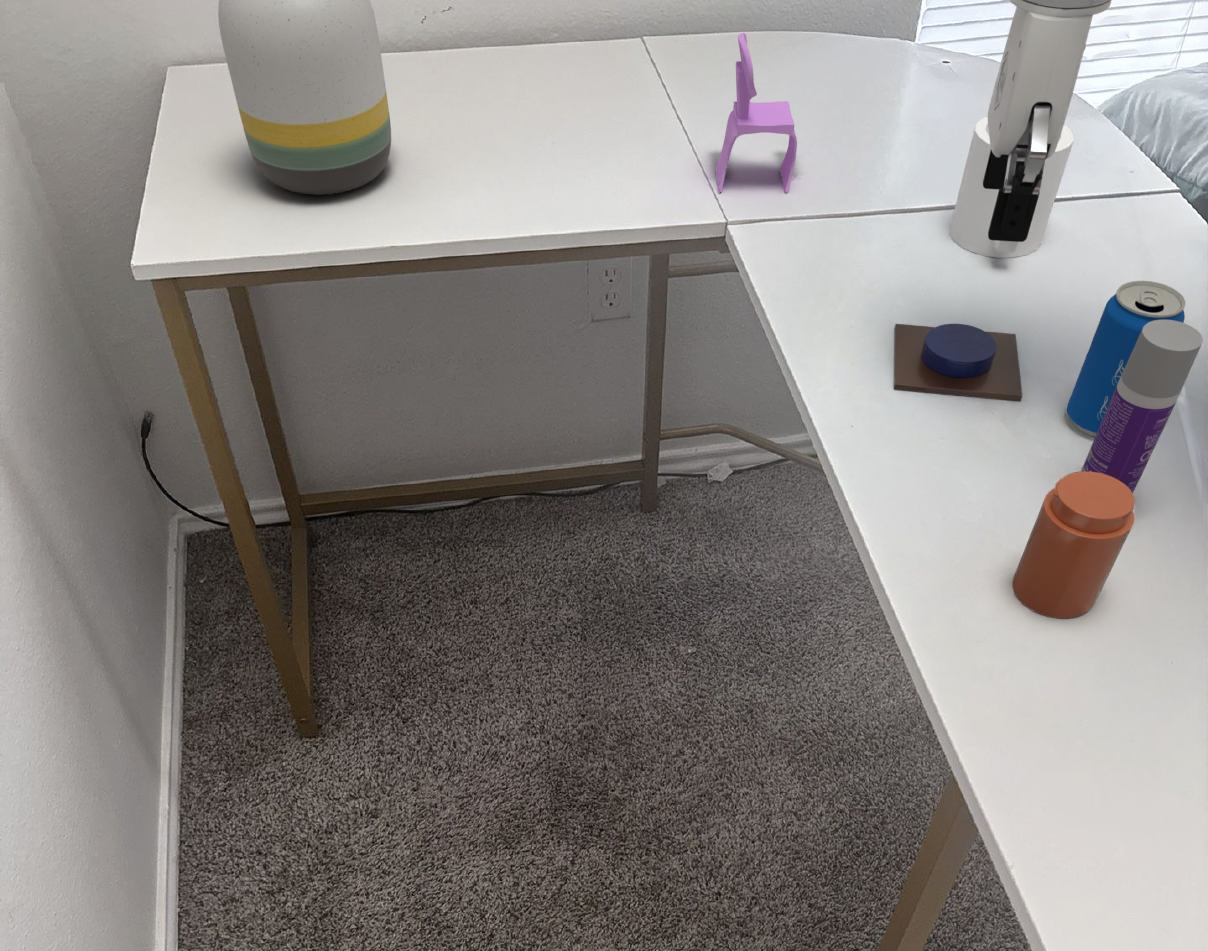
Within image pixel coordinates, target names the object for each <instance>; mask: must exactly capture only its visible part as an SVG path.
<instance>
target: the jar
mask: <svg viewBox="0 0 1208 951" xmlns="http://www.w3.org/2000/svg"><path fill="white" fill-rule="evenodd" d="M1135 503H1136V498H1135V495H1134V492H1133V493H1132V492H1131V490H1130V489H1129V488H1128V487H1127V486H1126V485H1125V484H1124V483H1122V482H1121V481H1119V480H1118V479H1116V478H1114V477H1111V476H1109V475H1106V474H1102V473H1098V472H1089V471H1082V472H1081V471H1076V472H1072V473H1069V474H1067V475H1065V476H1064V477H1062V478H1060V479H1059V480H1058V481H1057V482H1056V483H1055V485H1054V487H1053V488H1052V489H1050V490H1049V491H1048V492H1047V493H1046V495H1045V497H1044V498H1043V501H1042V504H1041V506H1040V509H1039V512H1038V513H1037V517H1036V519H1035V522H1034V525H1033V527H1032V529H1031V532H1030V534H1029V537H1028V540H1027V541H1026V542H1027V543H1026V544H1025V547H1024V550H1023V552H1022V555H1021V557H1020V559H1019V562H1018V565H1017V568H1016V570H1015V572H1014V575H1013V577H1012V581H1011V584H1012V590H1013V592H1014V594H1015V596H1016V598H1017V599H1018V600H1019V601H1020V603H1021V604H1023V605H1024V606H1025V607H1026V608H1027V609H1029V610H1032V611H1033V612H1035V613H1037V614H1040V615H1043V616H1045V617H1049V618H1056V619H1072V618H1077V617H1081V616H1083V615H1085V614H1087V613H1088V612H1090V611H1091V610H1092V609H1093V607H1095V604H1096V603H1097V600H1098V598H1099V596H1100V594H1101V592H1102V590H1103V588H1104V586H1105V583H1106V581H1107V579H1108V578H1109V575H1110V574H1111V571H1112V569H1113V568H1114V566H1115V563H1116V561H1117V559H1118V557H1119V555H1120V553H1121V551H1122V549H1123V546H1124V545H1125V543H1126V541H1127V539H1128V536H1129V534H1130V532H1131V530H1132V528H1133V526H1134V523H1135V519H1136V518H1135V511H1134V509H1135V505H1136V504H1135Z"/></svg>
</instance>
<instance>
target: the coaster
mask: <svg viewBox="0 0 1208 951" xmlns="http://www.w3.org/2000/svg"><path fill="white" fill-rule="evenodd" d="M934 327H935V326H926V325H915V324H904V323H895V325H894V329H893V334H894V335H893V339H894V340H893V344H894V345H893V390H895V391H906V392H916V393H926V394H939V395H949V396H960V397H971V398H980V399H981V398H982V399H991V400H992V399H993V400H1002V401H1003V400H1005V401H1015V402H1021V401H1022V400H1023V390H1022V380H1021V370H1020V361H1019V360H1020V359H1019V352H1018V344H1017V342H1018V341H1017V335H1016V333H1011V332H1009V333H1008V332H996V331H986V330H984V331H985V332H987V333H988V334H990V335H991V336H992V337H993V338H994V340H995V341H996V344H997V349H996V353H995V356H994V359H993V362H992V365H991V368H990V369H989V370H988V371H987V372H985V373H984V374H982V375H979V376H976V377H970V378H956V377H949V376H945V375H942V374H939V373H937V372H935V371H933V370H932V369H930V368H929V367H928V366H927V365H926V364H925V363H924V362H923V360H922V356H921V353H922V349H923V344H924V340H925V337H926V335H927V333H928V332H929V331H930V330H931V329H933V328H934Z"/></svg>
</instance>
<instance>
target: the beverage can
mask: <svg viewBox="0 0 1208 951" xmlns="http://www.w3.org/2000/svg"><path fill="white" fill-rule="evenodd" d="M1185 307H1186V299H1185V297H1184V296H1183V295H1182V294H1181V293H1180V292H1179V291H1178V290H1177V289H1175V288H1173V287H1172V286H1169V285H1166V284H1163V283H1161V282H1157V281H1151V280H1149V281H1148V280H1132V281H1128V282H1126V283H1123V284H1122V285H1120V286H1119V287H1118V288H1117V290H1116V293H1115V294H1114V295H1112V296H1111V297H1110V298H1109V299H1108V300H1107V301H1106V304H1105V306H1104V308H1103V311H1102V314H1101V317H1100V319H1099V321H1098V323H1097V324H1098V325H1097V326H1096V330H1095V332H1094V335H1093V337H1092V340H1091V342H1090V346H1089V348H1088V350H1087V353H1086V356H1085V358H1084V361H1083V364H1082V366H1081V369H1080V371H1079V374H1078V376H1077V379H1076V382H1075V384H1074V387H1073V390H1072V392H1071V394H1070V397H1069V400H1068V402H1067V406H1066V414H1067V417H1068V419H1069V420H1070V421H1071V422H1072V424H1073V425H1074V426H1075V427H1076V428H1077V429H1078V430H1079V431H1081V432H1082V433H1084V434H1086V435H1089V436H1092V437H1094V438H1095V437H1096V434H1097V432H1098V429H1099V427H1100V425H1101V422H1102V420H1103V417H1104V415H1105V413H1106V410H1107V408H1108V405H1109V403H1110V401H1111V398H1112V396H1113V393H1114V391H1115V389H1116V386H1117V384H1118V382H1119V380H1120V378H1121V375H1122V373H1123V371H1124V369H1125V367H1126V364H1127V362H1128V360H1129V358H1130V355H1131V353H1132V351H1133V349H1134V347H1135V344H1136V342H1137V340H1138V338H1139V335H1140V333H1141V331H1142V329H1143V327H1144V326H1145V325H1146V324H1147V323H1149V322H1151V321H1155V320H1174V321H1179V322H1182V323H1184V322H1185V318H1186V317H1185V311H1184V309H1185Z"/></svg>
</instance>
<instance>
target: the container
mask: <svg viewBox="0 0 1208 951" xmlns="http://www.w3.org/2000/svg"><path fill="white" fill-rule="evenodd" d="M1203 342H1204V339H1203V336H1202V334H1201V333H1200V331H1199V330H1198V329H1196V328H1195V327H1193V326H1191V325H1189V324H1187V323H1184V322H1183V323H1182V322H1179V321H1174V320H1155V321H1151V322H1149V323H1147V324H1146V325H1145V326H1144V327H1143V329H1142V331H1141V333H1140V335H1139V338H1138V340H1137V342H1136V344H1135V347H1134V349H1133V351H1132V353H1131V355H1130V358H1129V360H1128V362H1127V364H1126V367H1125V369H1124V371H1123V373H1122V375H1121V378H1120V380H1119V382H1118V384H1117V386H1116V389H1115V391H1114V393H1113V396H1112V398H1111V401H1110V403H1109V405H1108V408H1107V410H1106V413H1105V415H1104V417H1103V420H1102V422H1101V425H1100V427H1099V429H1098V432H1097V434H1096V437H1095V436H1094V439H1093V442H1092V443H1091V446H1090V449H1089V451H1088V453H1087V456H1086V459H1085V460H1084V463H1083V465H1082V467H1081V470H1080V472H1082V471H1089V472H1098V473H1102V474H1106V475H1109V476H1111V477H1114V478H1116V479H1118V480H1119V481H1121V482H1122V483H1124V484H1125V485H1126V486H1127V487H1128V488H1129V489H1130V490H1131V492H1132V493H1133V494H1134V492H1135V490H1136V488H1137V486H1138V484H1139V482H1140V479H1141V477H1142V475H1143V473H1144V471H1145V469H1146V467H1147V464H1148V463H1149V460H1150V459H1151V456H1152V454H1153V452H1154V450H1155V448H1156V446H1157V444H1158V442H1159V439H1160V438H1161V435H1162V434H1163V431H1164V429H1165V426H1166V425H1167V423H1168V421H1169V418H1170V416H1171V414H1172V412H1173V410H1174V408H1175V406H1176V403H1177V401H1178V399H1179V397H1180V394H1181V392H1182V390H1183V388H1184V385H1185V383H1186V381H1187V378H1188V377H1189V374H1190V371H1191V369H1192V367H1193V365H1194V363H1195V360H1196V359H1197V356H1198V353H1199V352H1200V349H1201V347H1202V345H1203Z"/></svg>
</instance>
